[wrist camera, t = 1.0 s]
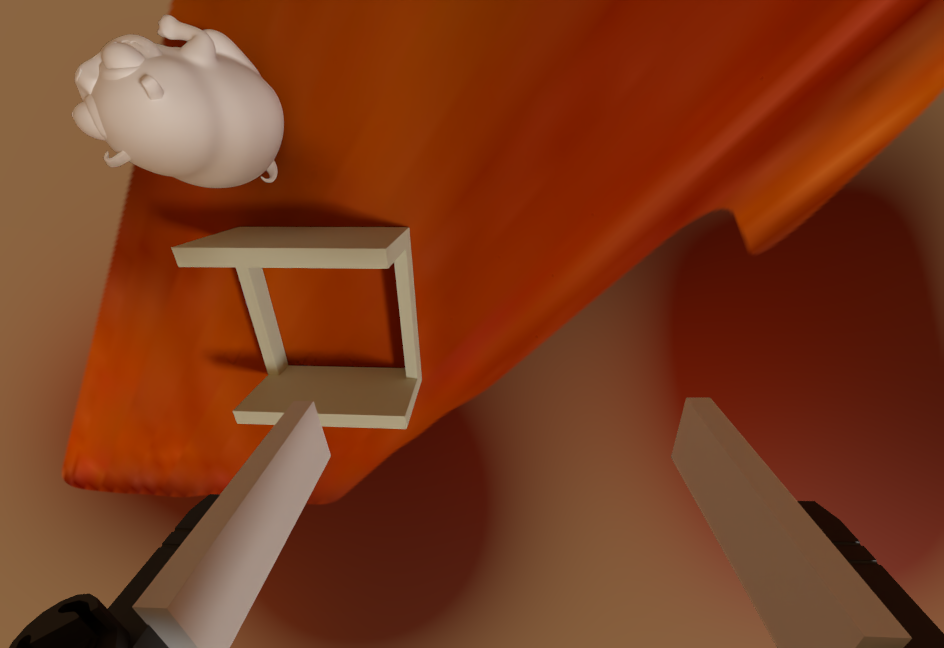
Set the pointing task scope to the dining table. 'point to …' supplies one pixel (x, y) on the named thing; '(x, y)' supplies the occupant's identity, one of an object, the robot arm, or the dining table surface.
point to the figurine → (181, 107)
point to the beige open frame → (331, 388)
